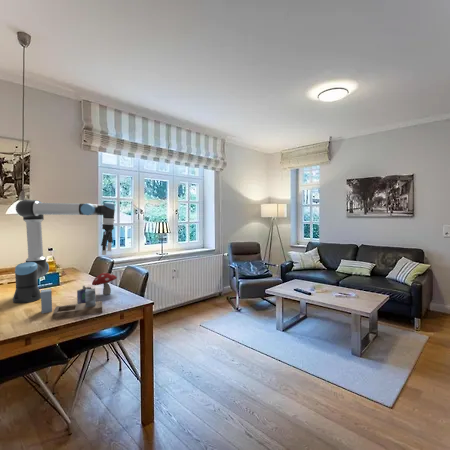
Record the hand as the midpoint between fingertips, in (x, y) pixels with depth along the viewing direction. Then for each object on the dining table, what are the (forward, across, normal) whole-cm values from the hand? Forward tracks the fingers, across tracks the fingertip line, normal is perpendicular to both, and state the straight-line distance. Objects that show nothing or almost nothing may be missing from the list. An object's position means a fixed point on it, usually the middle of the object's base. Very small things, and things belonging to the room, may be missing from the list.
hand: (106, 253), depth 204 cm
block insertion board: (+25, -47, +1) cm, 53 cm away
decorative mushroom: (+26, -13, -4) cm, 30 cm away
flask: (+26, -30, +4) cm, 40 cm away
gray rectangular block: (+27, -43, +20) cm, 54 cm away
